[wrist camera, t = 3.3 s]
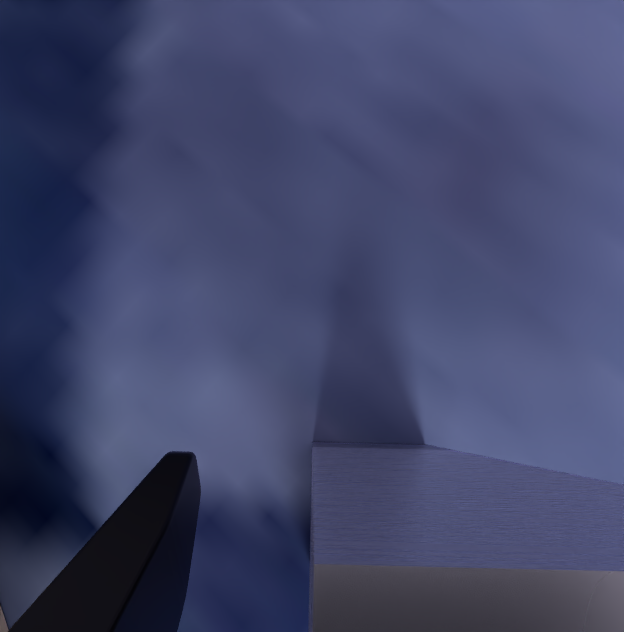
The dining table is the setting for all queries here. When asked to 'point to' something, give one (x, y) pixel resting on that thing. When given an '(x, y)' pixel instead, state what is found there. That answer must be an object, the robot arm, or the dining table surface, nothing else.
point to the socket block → (3, 622)
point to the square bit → (460, 544)
